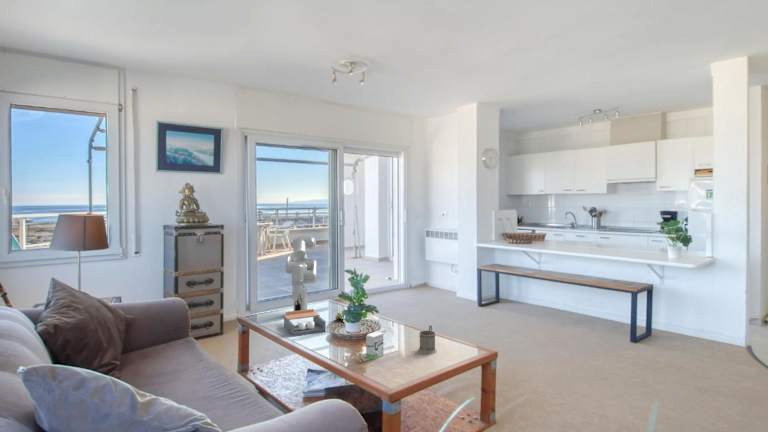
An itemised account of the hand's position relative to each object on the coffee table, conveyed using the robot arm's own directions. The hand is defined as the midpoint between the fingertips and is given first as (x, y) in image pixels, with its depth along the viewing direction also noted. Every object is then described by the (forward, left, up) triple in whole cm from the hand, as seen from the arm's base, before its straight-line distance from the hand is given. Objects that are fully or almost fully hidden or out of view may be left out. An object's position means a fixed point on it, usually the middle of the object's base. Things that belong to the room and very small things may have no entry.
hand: (297, 310), depth 277 cm
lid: (+10, 0, -1) cm, 10 cm away
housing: (+16, 0, -8) cm, 18 cm away
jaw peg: (+23, -3, -8) cm, 24 cm away
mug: (+82, +50, -8) cm, 96 cm away
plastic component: (+6, +35, -9) cm, 37 cm away
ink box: (+79, +20, -9) cm, 82 cm away
